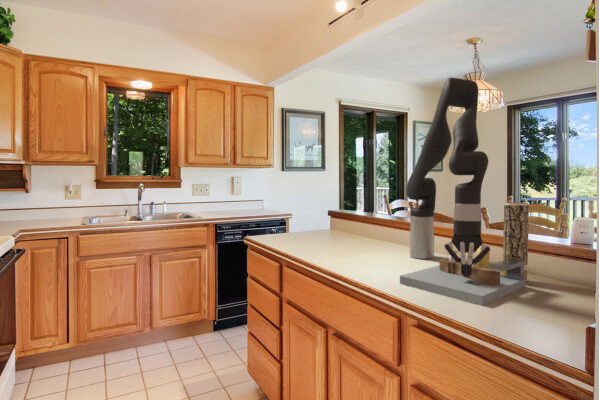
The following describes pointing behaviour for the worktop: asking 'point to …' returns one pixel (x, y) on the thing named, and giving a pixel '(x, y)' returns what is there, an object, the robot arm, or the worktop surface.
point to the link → (477, 272)
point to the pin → (484, 259)
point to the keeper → (511, 268)
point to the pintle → (451, 256)
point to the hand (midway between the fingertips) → (466, 276)
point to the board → (460, 285)
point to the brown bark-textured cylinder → (516, 233)
